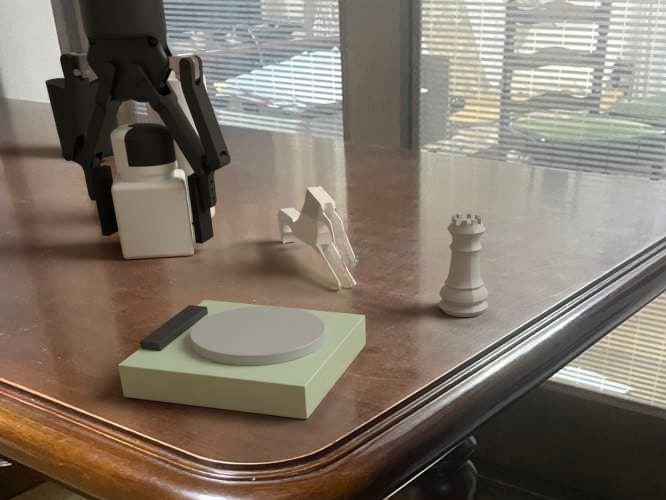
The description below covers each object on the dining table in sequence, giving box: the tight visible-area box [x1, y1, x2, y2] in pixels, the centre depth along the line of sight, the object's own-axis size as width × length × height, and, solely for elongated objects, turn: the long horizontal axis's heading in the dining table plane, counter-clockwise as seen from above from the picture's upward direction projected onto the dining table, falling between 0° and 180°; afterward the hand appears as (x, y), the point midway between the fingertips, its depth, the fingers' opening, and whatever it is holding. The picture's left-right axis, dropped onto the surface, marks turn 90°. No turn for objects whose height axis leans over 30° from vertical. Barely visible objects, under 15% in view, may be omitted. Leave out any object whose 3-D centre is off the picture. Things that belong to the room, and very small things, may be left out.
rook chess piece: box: [437, 212, 489, 318], centre depth 76 cm, size 4×4×8 cm
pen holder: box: [45, 77, 119, 158], centre depth 132 cm, size 9×9×10 cm
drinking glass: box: [145, 71, 216, 224], centre depth 99 cm, size 7×7×15 cm
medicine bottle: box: [110, 122, 195, 260], centre depth 90 cm, size 7×7×12 cm
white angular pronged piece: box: [277, 185, 360, 290], centre depth 87 cm, size 2×11×18 cm
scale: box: [117, 299, 367, 420], centre depth 66 cm, size 14×14×3 cm
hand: (158, 236), depth 92 cm, fingers open, 10 cm apart
